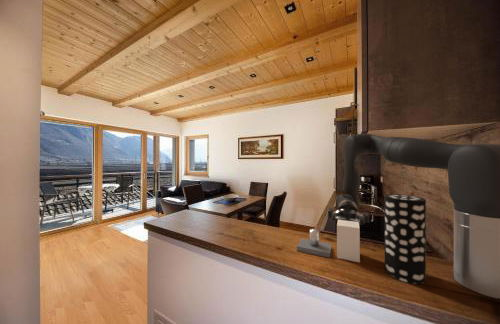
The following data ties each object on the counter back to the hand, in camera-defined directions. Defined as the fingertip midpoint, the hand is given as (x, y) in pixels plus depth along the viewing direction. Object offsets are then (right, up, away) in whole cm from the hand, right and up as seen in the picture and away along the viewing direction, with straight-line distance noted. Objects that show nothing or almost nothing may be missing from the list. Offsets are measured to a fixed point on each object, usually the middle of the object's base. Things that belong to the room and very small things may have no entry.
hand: (347, 220), depth 69 cm
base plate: (-14, -8, -6) cm, 17 cm away
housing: (-5, -8, -10) cm, 14 cm away
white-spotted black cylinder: (+5, -8, -20) cm, 22 cm away
